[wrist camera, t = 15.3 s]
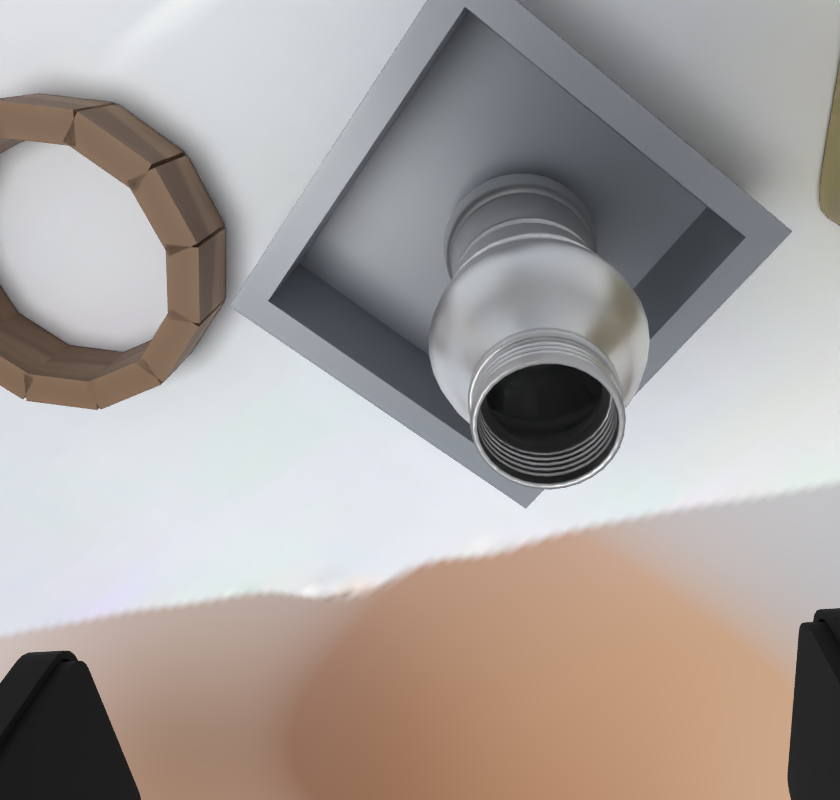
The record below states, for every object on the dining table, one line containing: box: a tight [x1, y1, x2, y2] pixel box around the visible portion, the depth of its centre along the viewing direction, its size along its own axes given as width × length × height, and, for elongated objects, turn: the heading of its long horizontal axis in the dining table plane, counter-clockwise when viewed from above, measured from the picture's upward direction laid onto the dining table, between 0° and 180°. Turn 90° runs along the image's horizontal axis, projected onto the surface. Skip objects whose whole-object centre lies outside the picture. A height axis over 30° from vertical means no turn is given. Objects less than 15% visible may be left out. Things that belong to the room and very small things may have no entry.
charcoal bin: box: [230, 0, 792, 508], centre depth 35 cm, size 16×16×7 cm
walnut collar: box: [0, 94, 226, 410], centre depth 38 cm, size 14×14×4 cm
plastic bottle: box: [429, 174, 650, 489], centre depth 28 cm, size 6×7×20 cm
